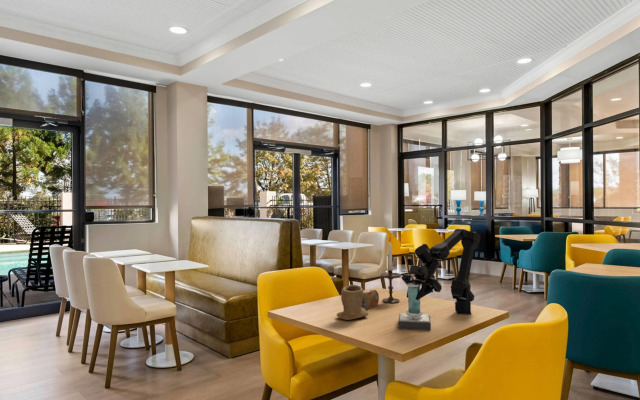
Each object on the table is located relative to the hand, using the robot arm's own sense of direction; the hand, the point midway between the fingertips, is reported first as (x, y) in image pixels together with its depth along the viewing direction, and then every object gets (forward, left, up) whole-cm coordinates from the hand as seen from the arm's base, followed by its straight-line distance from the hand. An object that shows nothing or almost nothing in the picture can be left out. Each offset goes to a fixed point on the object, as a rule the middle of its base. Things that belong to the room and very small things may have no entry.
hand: (411, 298), depth 179 cm
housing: (-1, -1, -7) cm, 7 cm away
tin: (+21, -29, -12) cm, 38 cm away
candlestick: (+11, -44, -12) cm, 47 cm away
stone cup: (+26, -8, -12) cm, 30 cm away
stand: (-1, -1, -12) cm, 12 cm away
